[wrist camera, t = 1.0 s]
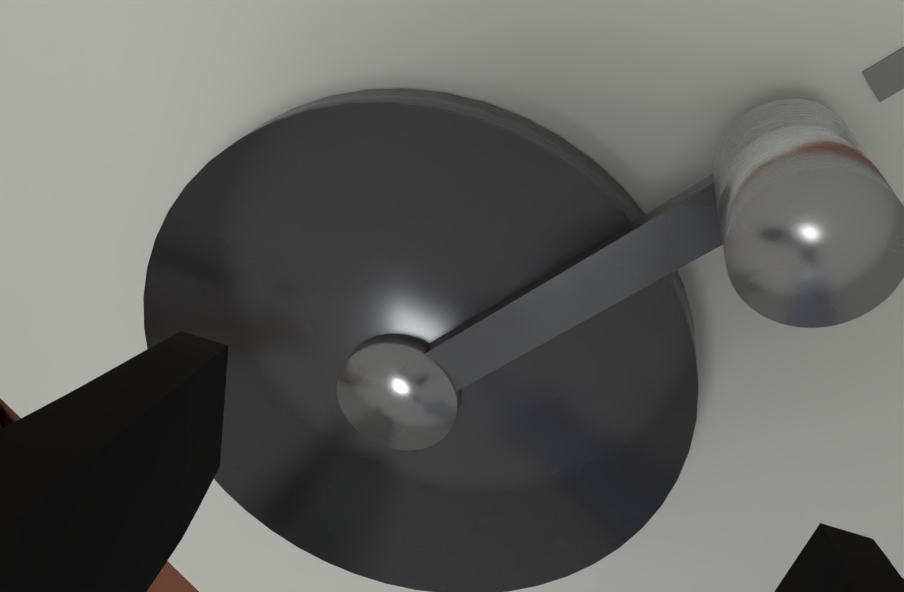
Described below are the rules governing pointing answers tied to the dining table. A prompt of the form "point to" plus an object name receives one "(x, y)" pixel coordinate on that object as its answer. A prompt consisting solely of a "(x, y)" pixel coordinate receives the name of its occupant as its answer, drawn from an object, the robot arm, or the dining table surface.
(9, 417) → the dining table surface
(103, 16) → the dial plate
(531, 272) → the dial
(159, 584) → the dining table surface
